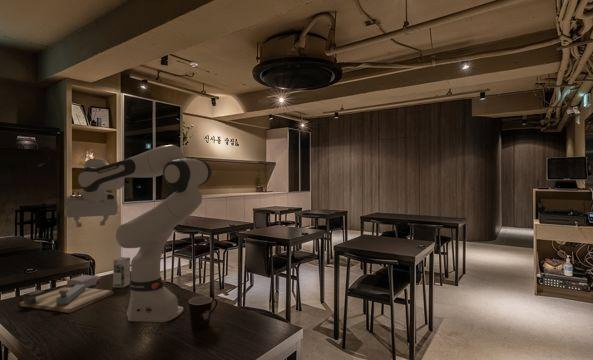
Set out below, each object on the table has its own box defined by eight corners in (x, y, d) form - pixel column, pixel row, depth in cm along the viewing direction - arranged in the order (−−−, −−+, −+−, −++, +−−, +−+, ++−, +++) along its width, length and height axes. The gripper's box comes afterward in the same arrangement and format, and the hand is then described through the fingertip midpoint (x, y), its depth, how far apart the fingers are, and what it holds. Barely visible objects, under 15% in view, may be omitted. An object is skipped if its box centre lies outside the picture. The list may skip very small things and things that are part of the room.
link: (67, 304, 141) (67, 298, 141) (53, 305, 140) (53, 299, 140) (86, 289, 160) (86, 284, 160) (75, 289, 159) (75, 284, 159)
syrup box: (112, 287, 169) (112, 258, 169) (120, 283, 175) (120, 256, 175) (122, 288, 168) (122, 259, 168) (130, 284, 174) (130, 256, 174)
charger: (106, 281, 179) (81, 290, 164) (92, 280, 181) (66, 288, 167) (106, 272, 179) (81, 281, 164) (92, 271, 181) (66, 279, 167)
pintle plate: (113, 294, 160) (113, 279, 160) (69, 313, 137) (69, 296, 137) (67, 288, 166) (68, 274, 166) (18, 306, 144) (18, 289, 143)
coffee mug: (190, 333, 121) (190, 306, 121) (186, 324, 128) (186, 298, 128) (222, 327, 126) (222, 301, 126) (216, 318, 134) (216, 293, 134)
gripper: (68, 196, 136) (65, 229, 137) (120, 195, 152) (117, 225, 153) (63, 194, 140) (60, 226, 141) (114, 193, 156) (112, 223, 157)
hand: (90, 226), depth 147 cm, fingers open, 8 cm apart
